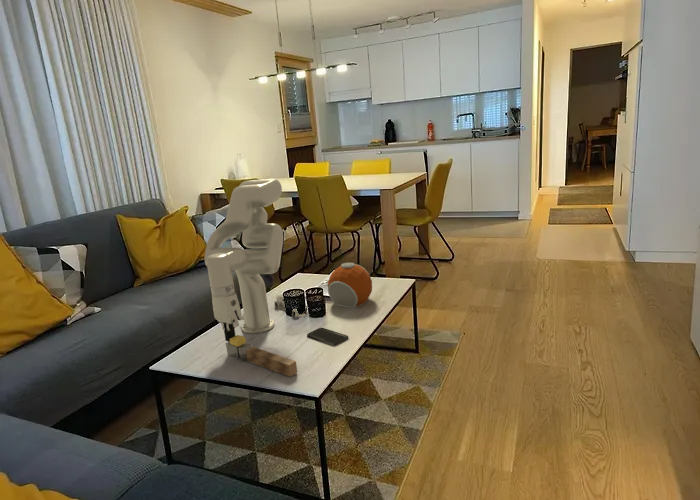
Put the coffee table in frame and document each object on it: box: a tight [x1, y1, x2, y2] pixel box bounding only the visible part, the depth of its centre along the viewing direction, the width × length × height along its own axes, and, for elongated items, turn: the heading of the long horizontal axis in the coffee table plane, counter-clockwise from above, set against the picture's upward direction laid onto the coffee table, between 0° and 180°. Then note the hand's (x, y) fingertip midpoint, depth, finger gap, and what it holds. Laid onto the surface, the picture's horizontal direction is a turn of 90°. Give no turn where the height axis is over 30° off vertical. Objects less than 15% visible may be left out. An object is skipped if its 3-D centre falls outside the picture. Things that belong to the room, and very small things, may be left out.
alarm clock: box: [327, 262, 373, 308], centre depth 202 cm, size 19×18×17 cm
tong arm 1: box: [246, 349, 295, 378], centre depth 152 cm, size 20×2×4 cm, turn 51°
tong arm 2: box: [250, 346, 298, 375], centre depth 153 cm, size 20×2×4 cm, turn 51°
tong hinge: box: [225, 341, 253, 362], centre depth 162 cm, size 10×4×5 cm, turn 52°
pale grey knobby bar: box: [274, 293, 309, 319], centre depth 204 cm, size 11×24×5 cm, turn 35°
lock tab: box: [230, 334, 247, 347], centre depth 162 cm, size 4×4×2 cm
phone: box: [306, 327, 349, 347], centre depth 172 cm, size 8×1×15 cm
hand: (230, 339), depth 164 cm, fingers closed
